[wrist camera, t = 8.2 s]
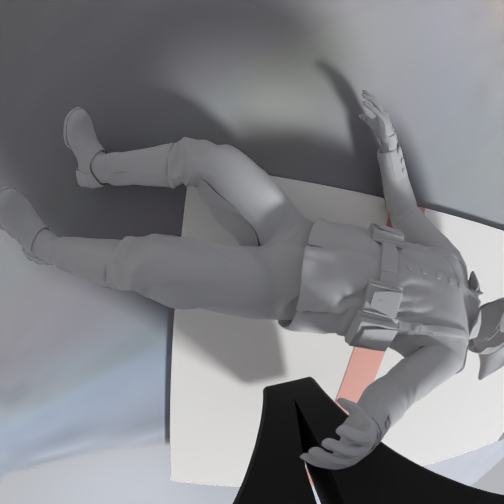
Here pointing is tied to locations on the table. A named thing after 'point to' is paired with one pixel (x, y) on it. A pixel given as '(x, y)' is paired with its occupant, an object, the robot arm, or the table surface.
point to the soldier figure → (289, 268)
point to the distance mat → (317, 356)
